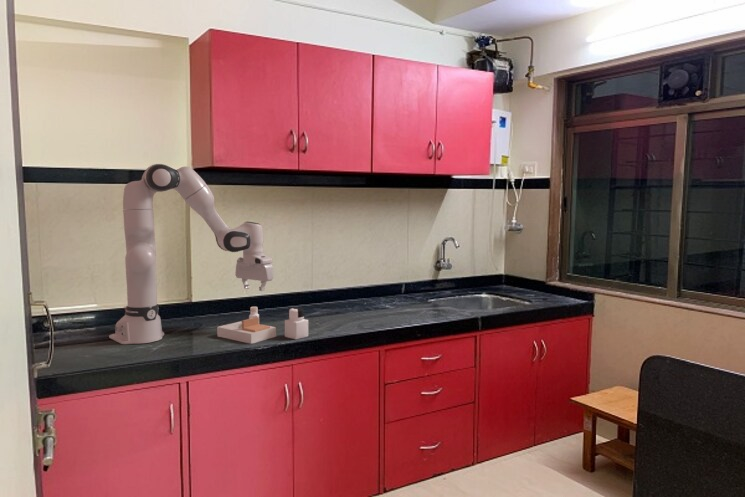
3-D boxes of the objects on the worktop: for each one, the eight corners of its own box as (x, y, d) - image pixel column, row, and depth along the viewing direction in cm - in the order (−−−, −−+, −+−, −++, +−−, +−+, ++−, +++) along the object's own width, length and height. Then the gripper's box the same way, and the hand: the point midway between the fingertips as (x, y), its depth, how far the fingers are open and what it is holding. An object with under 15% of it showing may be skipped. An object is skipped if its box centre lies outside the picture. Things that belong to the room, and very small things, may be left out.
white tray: (217, 336, 232) (217, 326, 231) (242, 329, 243) (242, 320, 243) (251, 343, 221) (251, 333, 220) (276, 336, 232) (275, 327, 232)
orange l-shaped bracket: (241, 329, 227) (241, 320, 227) (256, 325, 234) (256, 317, 234) (255, 332, 223) (254, 323, 223) (269, 328, 230) (269, 319, 230)
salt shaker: (258, 329, 245) (258, 308, 244) (249, 329, 244) (248, 308, 243) (259, 327, 249) (259, 306, 248) (250, 327, 248) (249, 306, 247)
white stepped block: (297, 333, 237) (296, 306, 236) (308, 336, 233) (308, 308, 232) (284, 336, 232) (284, 308, 231) (296, 339, 227) (296, 311, 226)
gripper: (231, 257, 247) (232, 288, 248) (264, 260, 235) (265, 292, 237) (242, 256, 252) (243, 286, 253) (275, 259, 240) (275, 290, 242)
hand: (254, 289), depth 245 cm, fingers open, 8 cm apart
